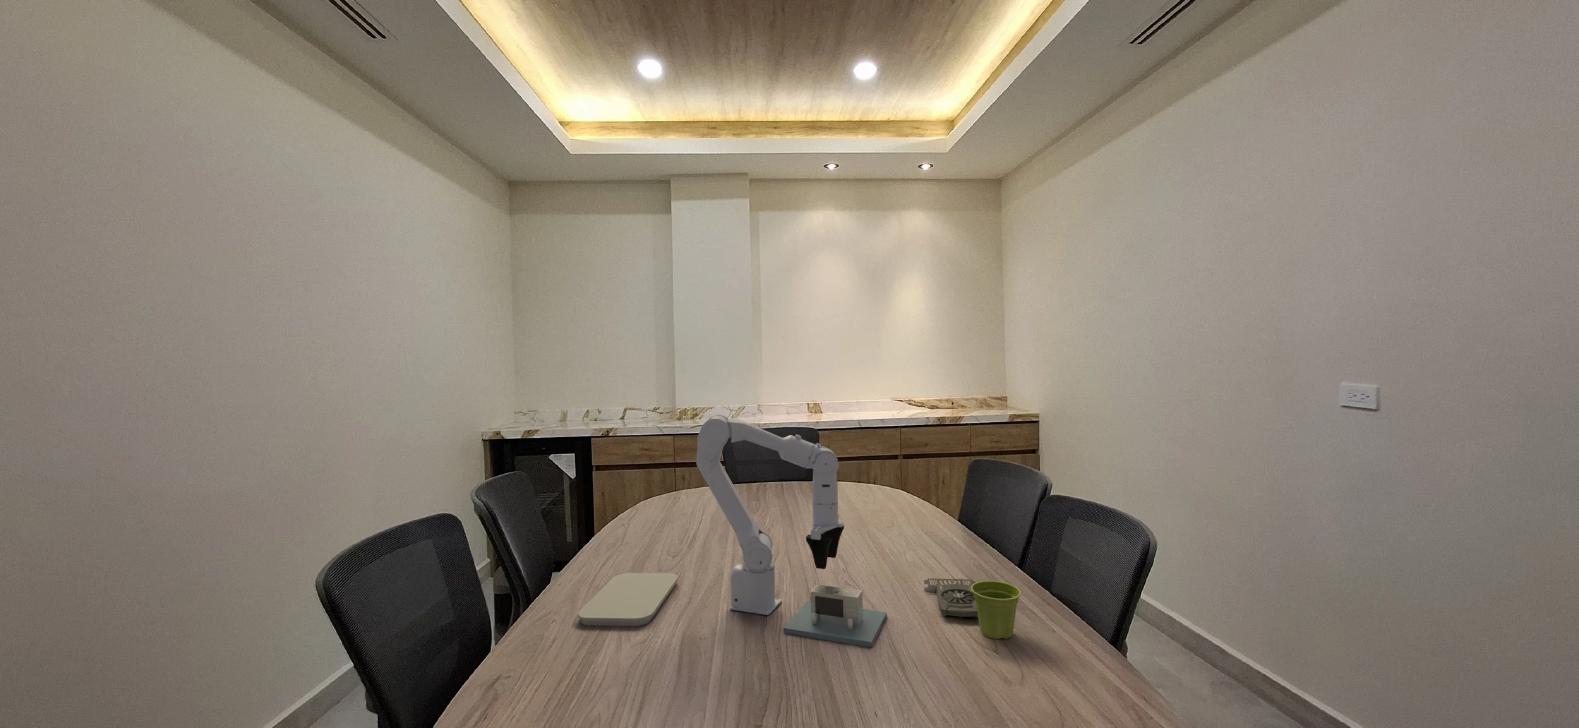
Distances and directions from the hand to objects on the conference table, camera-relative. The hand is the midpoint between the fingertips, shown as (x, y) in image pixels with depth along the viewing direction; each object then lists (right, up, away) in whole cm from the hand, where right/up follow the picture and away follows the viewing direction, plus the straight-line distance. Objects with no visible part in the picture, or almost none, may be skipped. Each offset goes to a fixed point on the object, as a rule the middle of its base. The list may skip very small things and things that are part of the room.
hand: (826, 562), depth 130 cm
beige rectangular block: (+2, -8, -10) cm, 13 cm away
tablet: (-45, -11, +4) cm, 46 cm away
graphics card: (+28, -10, -1) cm, 30 cm away
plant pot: (+33, -9, -15) cm, 37 cm away
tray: (+2, -9, -10) cm, 14 cm away
